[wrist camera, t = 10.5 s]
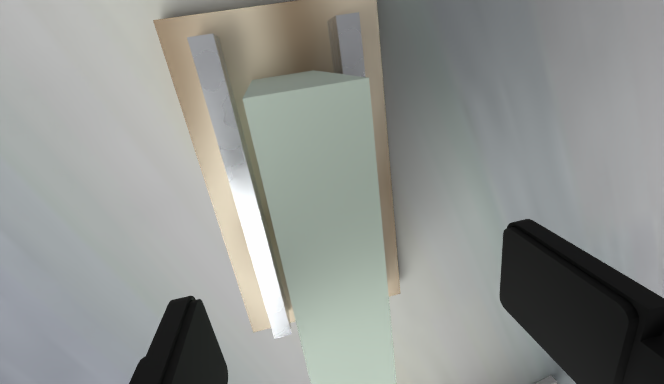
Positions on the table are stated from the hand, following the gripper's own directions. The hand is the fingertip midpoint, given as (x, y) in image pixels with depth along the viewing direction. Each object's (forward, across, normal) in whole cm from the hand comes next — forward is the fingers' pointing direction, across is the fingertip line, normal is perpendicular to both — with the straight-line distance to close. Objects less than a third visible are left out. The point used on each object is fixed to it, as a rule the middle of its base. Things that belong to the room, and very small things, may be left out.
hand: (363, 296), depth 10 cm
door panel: (+9, +1, 0) cm, 9 cm away
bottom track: (+10, +1, 0) cm, 10 cm away
